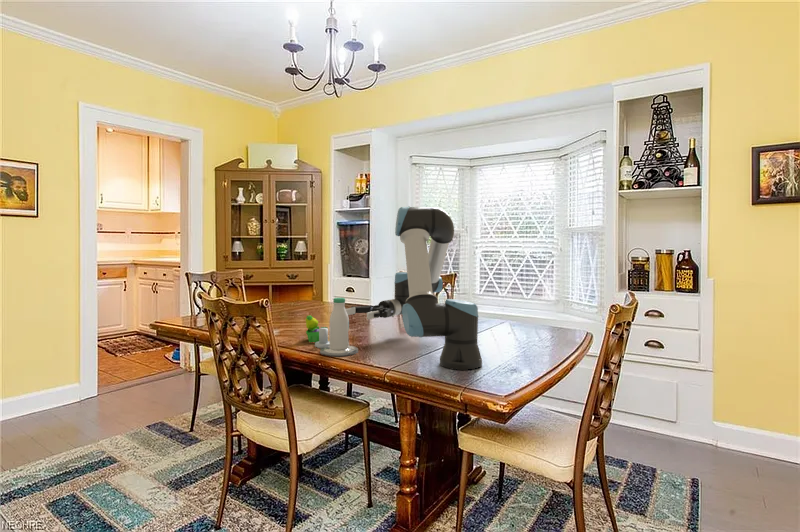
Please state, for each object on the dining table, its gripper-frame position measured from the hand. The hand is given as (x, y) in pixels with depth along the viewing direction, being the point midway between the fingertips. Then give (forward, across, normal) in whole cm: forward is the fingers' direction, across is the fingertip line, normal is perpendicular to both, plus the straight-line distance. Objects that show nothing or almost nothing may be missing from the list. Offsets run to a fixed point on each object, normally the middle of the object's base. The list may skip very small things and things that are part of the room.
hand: (355, 314), depth 186 cm
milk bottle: (+9, 0, -13) cm, 16 cm away
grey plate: (+9, 0, -14) cm, 17 cm away
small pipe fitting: (+7, +12, -14) cm, 20 cm away
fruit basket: (+2, +23, -14) cm, 27 cm away
